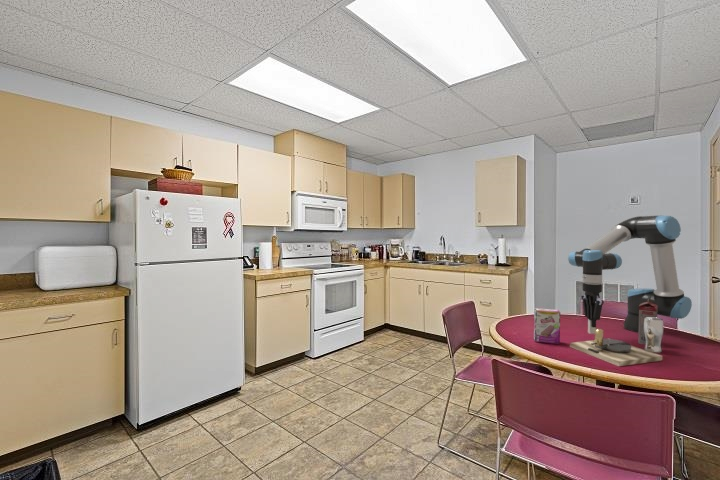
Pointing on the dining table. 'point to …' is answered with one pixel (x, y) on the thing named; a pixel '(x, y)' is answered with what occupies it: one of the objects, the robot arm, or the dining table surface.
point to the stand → (617, 354)
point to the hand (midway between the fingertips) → (591, 333)
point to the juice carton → (645, 311)
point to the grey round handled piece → (610, 343)
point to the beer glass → (653, 334)
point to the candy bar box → (547, 326)
